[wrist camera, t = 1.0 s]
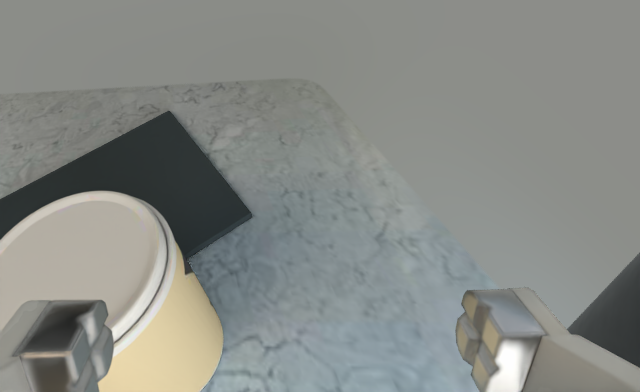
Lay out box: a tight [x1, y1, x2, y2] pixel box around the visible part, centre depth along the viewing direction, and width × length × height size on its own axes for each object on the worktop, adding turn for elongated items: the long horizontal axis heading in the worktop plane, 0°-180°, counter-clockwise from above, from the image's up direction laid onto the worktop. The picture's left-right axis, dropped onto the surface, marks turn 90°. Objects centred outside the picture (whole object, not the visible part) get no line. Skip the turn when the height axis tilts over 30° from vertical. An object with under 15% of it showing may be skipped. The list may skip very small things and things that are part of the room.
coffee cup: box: [0, 191, 223, 392], centre depth 25 cm, size 9×9×12 cm
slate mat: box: [0, 111, 252, 259], centre depth 37 cm, size 20×16×1 cm
